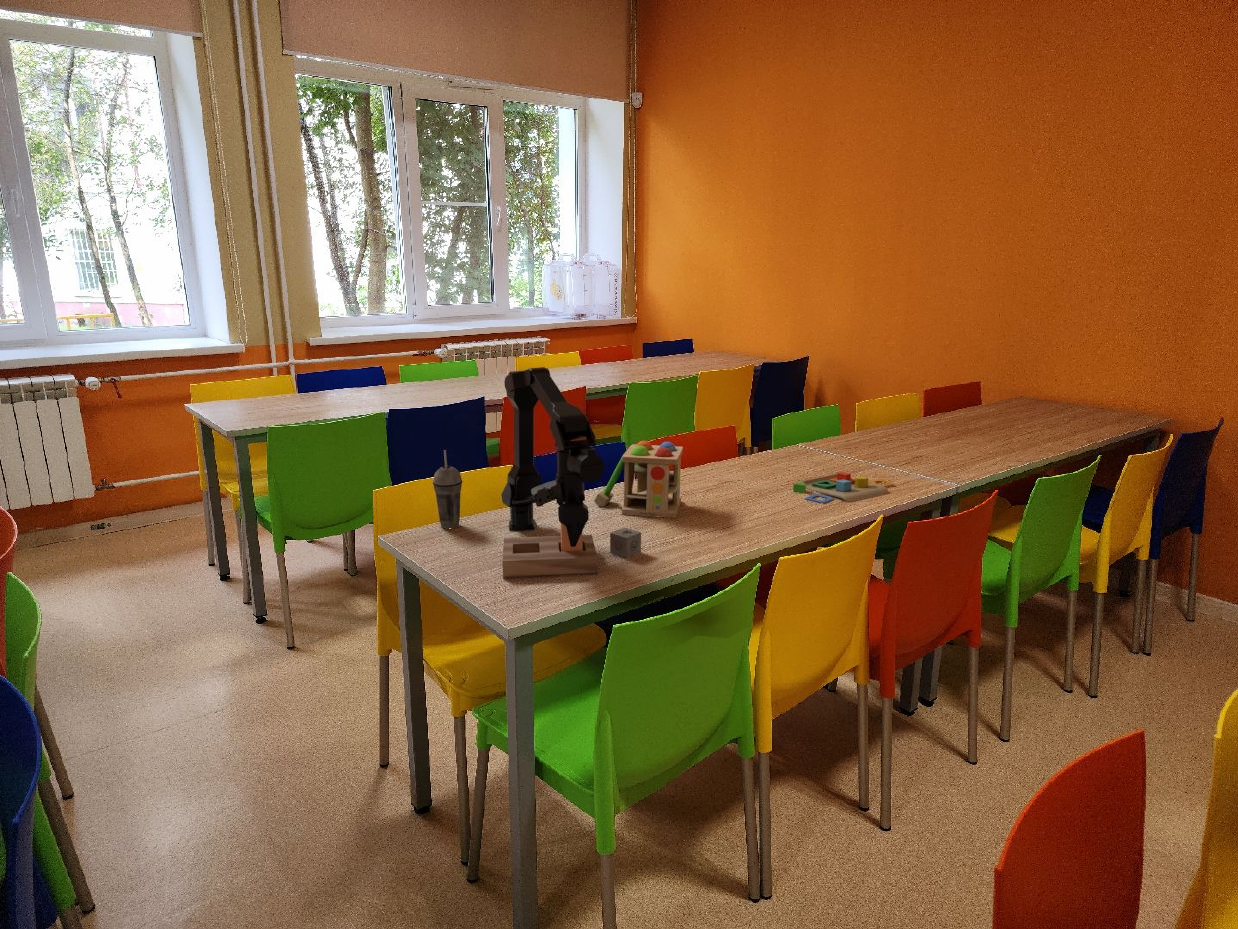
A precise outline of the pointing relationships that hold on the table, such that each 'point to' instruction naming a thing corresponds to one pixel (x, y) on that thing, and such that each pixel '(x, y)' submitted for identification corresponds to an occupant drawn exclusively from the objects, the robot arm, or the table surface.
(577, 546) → the pin
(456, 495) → the beverage cup
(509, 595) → the table surface
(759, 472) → the table surface
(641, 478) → the pounding bench toy
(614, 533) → the dice cube
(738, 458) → the table surface
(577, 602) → the table surface
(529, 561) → the socket block
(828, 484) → the shape sorter
